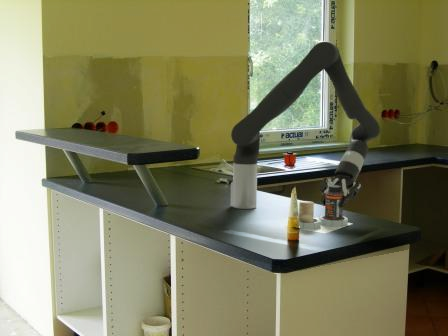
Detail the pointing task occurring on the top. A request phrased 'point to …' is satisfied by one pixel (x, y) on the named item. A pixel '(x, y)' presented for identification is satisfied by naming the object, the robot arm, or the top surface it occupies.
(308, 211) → the dowel
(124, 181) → the top surface
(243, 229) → the top surface
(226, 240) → the top surface
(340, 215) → the supplement bottle
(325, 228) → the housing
